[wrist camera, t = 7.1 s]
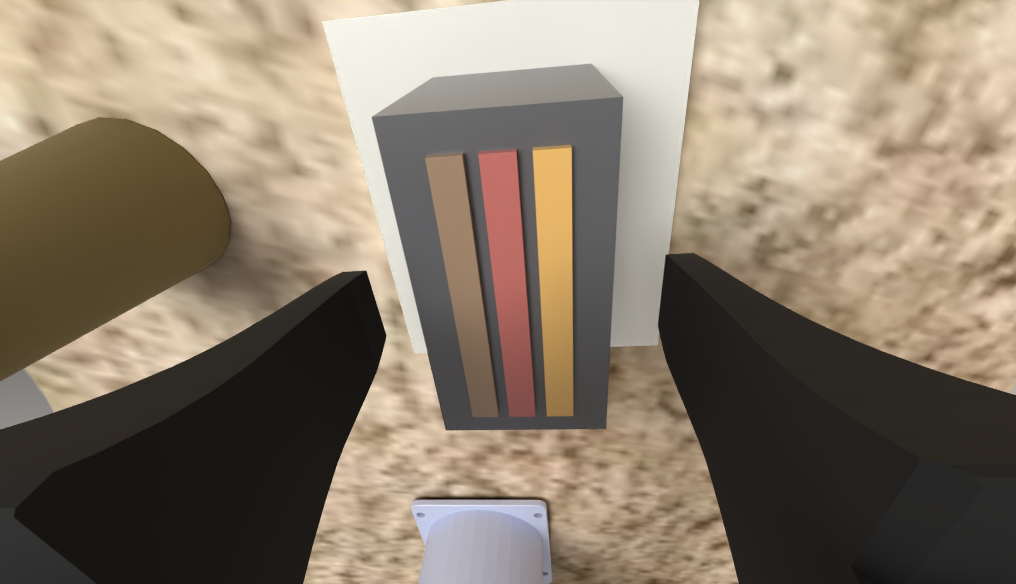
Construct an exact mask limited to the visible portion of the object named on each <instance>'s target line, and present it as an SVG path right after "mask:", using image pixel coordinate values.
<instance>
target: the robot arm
mask: <svg viewBox="0 0 1016 584" xmlns="http://www.w3.org/2000/svg"><path fill="white" fill-rule="evenodd" d="M658 329H659V333H660V338H661V342H662V346H663V350H664V354H665V357H666V361H667V364H668V366H669V369H670V371H671V374H672V376H673V379H674V381H675V384H676V386H677V389H678V391H679V394H680V396H681V399H682V401H683V403H684V406H685V408H686V411H687V413H688V416H689V418H690V420H691V423H692V425H693V428H694V430H695V433H696V435H697V438H698V440H699V443H700V445H701V448H702V451H703V454H704V457H705V459H706V462H707V466H708V469H709V473H710V476H711V480H712V483H713V487H714V490H715V494H716V497H717V501H718V504H719V508H720V512H721V515H722V519H723V523H724V527H725V530H726V534H727V538H728V542H729V545H730V549H731V553H732V557H733V561H734V565H735V569H736V574H737V578H738V582H739V584H1016V395H1013V394H1010V393H1006V392H1003V391H1000V390H996V389H993V388H990V387H986V386H983V385H979V384H976V383H973V382H969V381H966V380H963V379H960V378H957V377H954V376H951V375H948V374H944V373H941V372H938V371H935V370H932V369H929V368H926V367H924V366H921V365H918V364H915V363H913V362H910V361H907V360H904V359H902V358H899V357H896V356H893V355H891V354H888V353H885V352H883V351H880V350H878V349H875V348H872V347H870V346H867V345H865V344H862V343H860V342H858V341H855V340H853V339H851V338H849V337H846V336H844V335H842V334H840V333H837V332H835V331H833V330H830V329H828V328H826V327H824V326H822V325H820V324H817V323H815V322H813V321H811V320H809V319H807V318H805V317H803V316H801V315H799V314H798V313H796V312H794V311H792V310H790V309H788V308H786V307H784V306H782V305H780V304H779V303H777V302H775V301H773V300H771V299H770V298H768V297H766V296H764V295H763V294H761V293H759V292H758V291H756V290H754V289H752V288H751V287H749V286H747V285H746V284H744V283H743V282H741V281H739V280H738V279H736V278H734V277H733V276H731V275H730V274H728V273H726V272H725V271H723V270H722V269H720V268H718V267H717V266H715V265H713V264H712V263H710V262H709V261H707V260H705V259H703V258H702V257H700V256H698V255H696V254H694V253H686V254H668V255H666V256H665V265H664V274H663V283H662V292H661V300H660V309H659V318H658ZM385 339H386V333H385V330H384V326H383V323H382V320H381V317H380V314H379V310H378V307H377V304H376V301H375V297H374V294H373V291H372V288H371V284H370V281H369V278H368V275H367V272H366V271H352V272H342V273H340V274H337V275H335V276H333V277H331V278H330V279H328V280H326V281H324V282H323V283H321V284H319V285H318V286H316V287H314V288H313V289H311V290H309V291H308V292H306V293H305V294H303V295H301V296H300V297H298V298H297V299H295V300H293V301H292V302H290V303H289V304H287V305H285V306H284V307H282V308H281V309H279V310H277V311H276V312H274V313H273V314H271V315H269V316H268V317H266V318H264V319H262V320H261V321H259V322H257V323H255V324H254V325H252V326H250V327H249V328H247V329H245V330H243V331H242V332H240V333H238V334H237V335H235V336H233V337H231V338H229V339H228V340H226V341H224V342H222V343H220V344H218V345H216V346H214V347H212V348H211V349H209V350H207V351H204V352H202V353H200V354H198V355H196V356H194V357H192V358H190V359H188V360H186V361H184V362H182V363H180V364H177V365H175V366H173V367H171V368H168V369H166V370H164V371H161V372H159V373H157V374H154V375H152V376H149V377H147V378H145V379H142V380H140V381H138V382H135V383H133V384H130V385H128V386H126V387H123V388H121V389H118V390H116V391H113V392H111V393H108V394H105V395H102V396H100V397H97V398H94V399H92V400H89V401H86V402H84V403H81V404H78V405H75V406H72V407H69V408H66V409H63V410H60V411H57V412H55V413H52V414H49V415H46V416H43V417H40V418H36V419H33V420H30V421H27V422H24V423H21V424H17V425H14V426H11V427H7V428H4V429H1V430H0V584H303V582H304V578H305V574H306V570H307V566H308V562H309V558H310V554H311V550H312V546H313V543H314V539H315V536H316V532H317V529H318V525H319V522H320V518H321V515H322V511H323V508H324V504H325V501H326V498H327V494H328V491H329V488H330V485H331V482H332V479H333V475H334V472H335V469H336V466H337V463H338V461H339V458H340V455H341V453H342V450H343V448H344V445H345V443H346V441H347V438H348V436H349V434H350V432H351V429H352V427H353V425H354V423H355V420H356V418H357V416H358V414H359V411H360V409H361V407H362V405H363V402H364V400H365V398H366V395H367V393H368V391H369V388H370V386H371V384H372V381H373V379H374V377H375V374H376V372H377V369H378V366H379V362H380V359H381V356H382V352H383V348H384V344H385ZM411 510H412V513H413V516H414V518H415V521H416V524H417V526H418V529H419V532H420V534H421V537H422V539H423V542H424V545H425V551H424V556H423V561H422V565H421V570H420V575H419V580H418V584H549V583H551V582H552V568H551V556H550V543H549V531H548V519H547V506H546V503H545V502H544V501H542V500H415V501H413V503H412V506H411Z"/></svg>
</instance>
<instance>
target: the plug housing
mask: <svg viewBox="0 0 1016 584" xmlns="http://www.w3.org/2000/svg"><path fill="white" fill-rule="evenodd" d="M622 112H623V96H622V95H621V94H620V93H619V92H618V91H617V90H616V89H615V88H614V87H613V86H612V85H611V84H610V82H609V81H608V80H607V79H606V78H605V77H604V76H603V75H602V74H601V73H600V72H599V71H598V70H597V69H596V68H595V67H594V66H593V65H592V64H580V65H569V66H557V67H546V68H534V69H523V70H511V71H500V72H488V73H477V74H465V75H454V76H443V77H432V78H431V79H429V80H428V81H426V82H425V83H423V84H422V85H420V86H419V87H417V88H415V89H414V90H412V91H411V92H409V93H408V94H406V95H405V96H403V97H401V98H400V99H398V100H397V101H395V102H394V103H392V104H391V105H389V106H388V107H386V108H384V109H383V110H381V111H380V112H378V113H377V114H375V115H374V116H372V121H373V125H374V129H375V134H376V138H377V142H378V146H379V150H380V155H381V159H382V163H383V167H384V172H385V176H386V180H387V184H388V188H389V193H390V197H391V201H392V205H393V209H394V214H395V218H396V222H397V226H398V231H399V235H400V239H401V243H402V247H403V252H404V256H405V260H406V264H407V268H408V273H409V277H410V281H411V285H412V290H413V294H414V298H415V302H416V306H417V311H418V315H419V319H420V323H421V327H422V332H423V336H424V340H425V344H426V348H427V353H428V357H429V361H430V365H431V370H432V374H433V378H434V382H435V386H436V391H437V395H438V399H439V403H440V407H441V412H442V416H443V420H444V424H445V429H446V430H530V429H606V417H607V398H608V379H609V360H610V341H611V322H612V303H613V284H614V264H615V245H616V226H617V207H618V188H619V169H620V150H621V131H622Z"/></svg>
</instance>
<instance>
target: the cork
mask: <svg viewBox="0 0 1016 584" xmlns="http://www.w3.org/2000/svg"><path fill="white" fill-rule="evenodd" d="M229 241H230V217H229V214H228V210H227V207H226V204H225V201H224V198H223V195H222V194H221V192H220V191H219V189H218V188H217V186H216V184H215V183H214V181H213V180H212V178H211V177H210V175H209V174H208V172H207V171H206V170H205V169H204V168H203V167H202V166H201V165H200V164H199V163H198V162H197V161H196V160H195V159H194V158H193V157H192V156H191V155H190V154H189V153H188V152H187V151H186V150H185V149H184V148H183V147H181V146H180V145H178V144H177V143H175V142H174V141H172V140H170V139H169V138H167V137H166V136H164V135H163V134H161V133H160V132H158V131H157V130H154V129H152V128H149V127H146V126H143V125H141V124H138V123H135V122H132V121H130V120H127V119H114V118H100V117H99V118H96V119H93V120H90V121H87V122H84V123H81V124H78V125H75V126H73V127H71V128H69V129H67V130H65V131H63V132H61V133H59V134H56V135H54V136H52V137H50V138H48V139H46V140H44V141H42V142H39V143H37V144H35V145H33V146H31V147H29V148H27V149H25V150H22V151H20V152H18V153H16V154H14V155H12V156H10V157H8V158H5V159H3V160H1V161H0V381H2V380H4V379H6V378H7V377H9V376H11V375H13V374H15V373H16V372H18V371H20V370H22V369H24V368H25V367H27V366H29V365H31V364H33V363H34V362H36V361H38V360H40V359H42V358H43V357H45V356H47V355H49V354H51V353H52V352H54V351H56V350H58V349H60V348H62V347H63V346H65V345H67V344H69V343H71V342H72V341H74V340H76V339H78V338H80V337H81V336H83V335H85V334H87V333H89V332H90V331H92V330H94V329H96V328H98V327H99V326H101V325H103V324H105V323H107V322H108V321H110V320H112V319H114V318H116V317H118V316H119V315H121V314H123V313H125V312H127V311H128V310H130V309H132V308H134V307H136V306H137V305H139V304H141V303H143V302H145V301H146V300H148V299H150V298H152V297H154V296H155V295H157V294H159V293H161V292H163V291H164V290H166V289H168V288H170V287H172V286H174V285H175V284H177V283H179V282H181V281H183V280H184V279H186V278H188V277H190V276H192V275H193V274H195V273H197V272H199V271H201V270H202V269H204V268H206V267H208V266H209V265H210V264H212V263H213V262H215V261H216V260H217V259H219V258H220V257H221V256H222V255H223V253H224V251H225V249H226V247H227V245H228V243H229Z"/></svg>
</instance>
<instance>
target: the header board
mask: <svg viewBox="0 0 1016 584" xmlns="http://www.w3.org/2000/svg"><path fill="white" fill-rule="evenodd" d="M698 8H699V0H507V1H498V2H489V3H481V4H472V5H463V6H454V7H445V8H436V9H427V10H419V11H410V12H401V13H392V14H383V15H374V16H366V17H357V18H348V19H339V20H330V21H322V22H323V26H324V30H325V33H326V37H327V40H328V44H329V48H330V51H331V55H332V59H333V62H334V66H335V69H336V73H337V77H338V80H339V84H340V87H341V91H342V95H343V98H344V102H345V105H346V109H347V113H348V116H349V120H350V123H351V127H352V131H353V134H354V138H355V141H356V145H357V149H358V152H359V156H360V159H361V163H362V167H363V170H364V174H365V177H366V181H367V185H368V188H369V192H370V195H371V199H372V203H373V206H374V210H375V213H376V217H377V221H378V224H379V228H380V232H381V235H382V239H383V242H384V246H385V250H386V253H387V257H388V260H389V264H390V268H391V271H392V275H393V278H394V282H395V286H396V289H397V293H398V296H399V300H400V304H401V307H402V311H403V314H404V318H405V322H406V325H407V329H408V332H409V336H410V340H411V343H412V347H413V350H414V354H415V353H427V348H426V344H425V340H424V336H423V332H422V327H421V323H420V319H419V315H418V311H417V306H416V302H415V298H414V294H413V290H412V285H411V281H410V277H409V273H408V268H407V264H406V260H405V256H404V252H403V247H402V243H401V239H400V235H399V231H398V226H397V222H396V218H395V214H394V209H393V205H392V201H391V197H390V193H389V188H388V184H387V180H386V176H385V172H384V167H383V163H382V159H381V155H380V150H379V146H378V142H377V138H376V134H375V129H374V125H373V121H372V116H374V115H375V114H377V113H378V112H380V111H381V110H383V109H384V108H386V107H388V106H389V105H391V104H392V103H394V102H395V101H397V100H398V99H400V98H401V97H403V96H405V95H406V94H408V93H409V92H411V91H412V90H414V89H415V88H417V87H419V86H420V85H422V84H423V83H425V82H426V81H428V80H429V79H431V78H432V77H443V76H454V75H465V74H477V73H488V72H500V71H511V70H523V69H534V68H546V67H557V66H569V65H580V64H592V65H593V66H594V67H595V68H596V69H597V70H598V71H599V72H600V73H601V74H602V75H603V76H604V77H605V78H606V79H607V80H608V81H609V82H610V84H611V85H612V86H613V87H614V88H615V89H616V90H617V91H618V92H619V93H620V94H621V95H622V96H623V112H622V131H621V150H620V169H619V188H618V207H617V226H616V245H615V264H614V284H613V303H612V322H611V341H610V347H626V346H656V345H658V339H659V329H658V318H659V309H660V300H661V292H662V283H663V274H664V265H665V256H666V255H668V254H669V248H670V240H671V232H672V223H673V215H674V207H675V198H676V190H677V182H678V174H679V165H680V157H681V149H682V140H683V132H684V124H685V115H686V107H687V99H688V91H689V82H690V74H691V66H692V57H693V49H694V41H695V33H696V24H697V16H698Z"/></svg>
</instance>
